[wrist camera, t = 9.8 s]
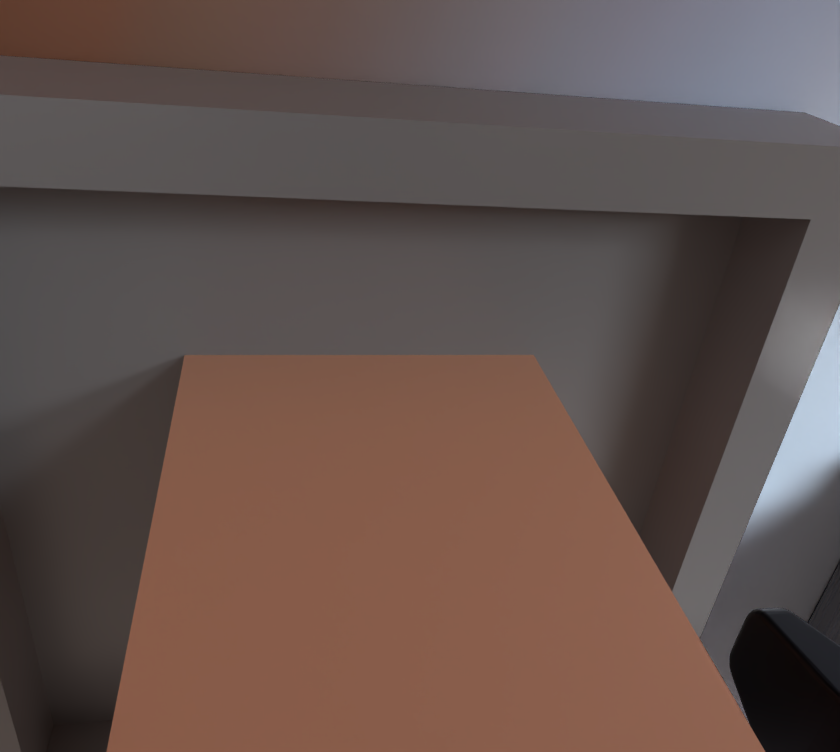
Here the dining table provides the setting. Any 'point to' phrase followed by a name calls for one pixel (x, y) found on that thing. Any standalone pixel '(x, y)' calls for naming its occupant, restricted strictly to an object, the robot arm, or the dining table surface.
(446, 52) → the dining table surface
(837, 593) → the mounted unit
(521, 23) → the dining table surface
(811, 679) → the robot arm
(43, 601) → the charcoal tray
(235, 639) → the terracotta block
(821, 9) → the dining table surface
